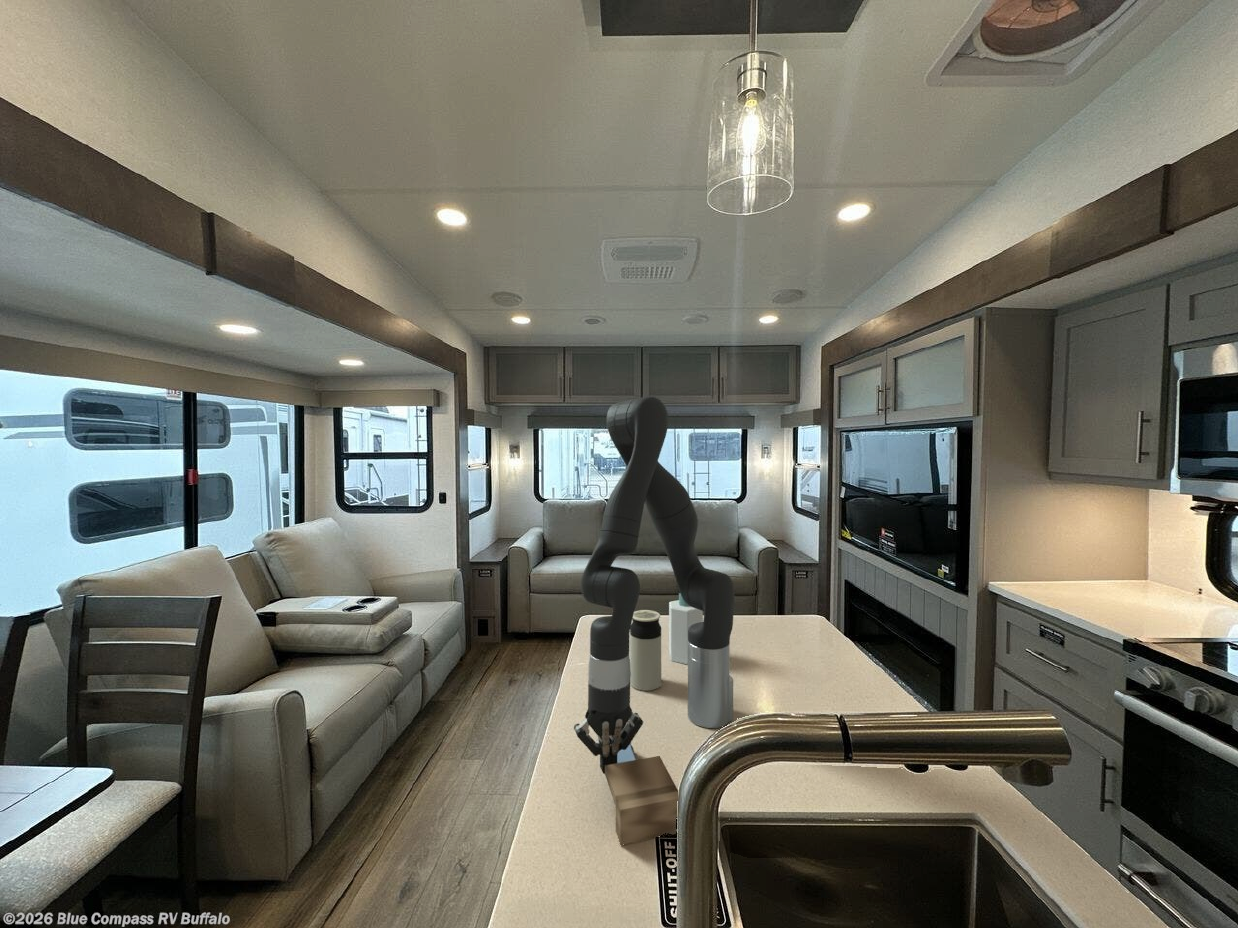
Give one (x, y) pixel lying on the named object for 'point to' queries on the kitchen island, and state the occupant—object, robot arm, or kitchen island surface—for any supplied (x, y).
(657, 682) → the travel mug
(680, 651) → the soap bottle
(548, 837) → the kitchen island surface
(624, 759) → the swing link
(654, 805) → the brown square block
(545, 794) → the kitchen island surface
